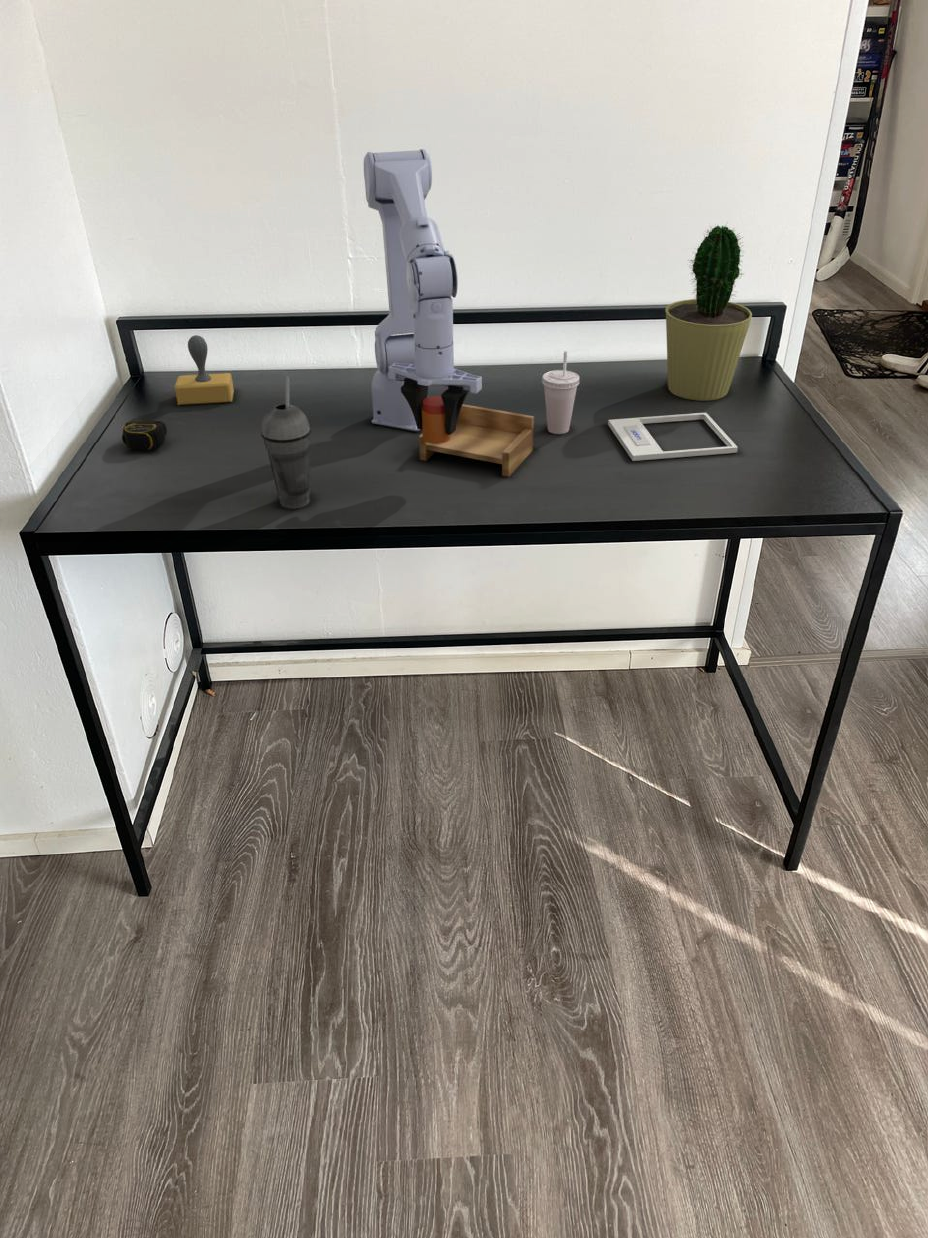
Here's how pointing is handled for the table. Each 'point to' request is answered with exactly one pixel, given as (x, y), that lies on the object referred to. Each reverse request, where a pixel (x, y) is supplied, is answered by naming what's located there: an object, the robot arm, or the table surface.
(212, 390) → the rubber stamp
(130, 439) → the tape measure
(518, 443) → the shelf
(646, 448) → the photo frame
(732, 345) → the potted cactus
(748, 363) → the table surface
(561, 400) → the smoothie
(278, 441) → the beverage cup
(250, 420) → the table surface
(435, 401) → the spice bottle
